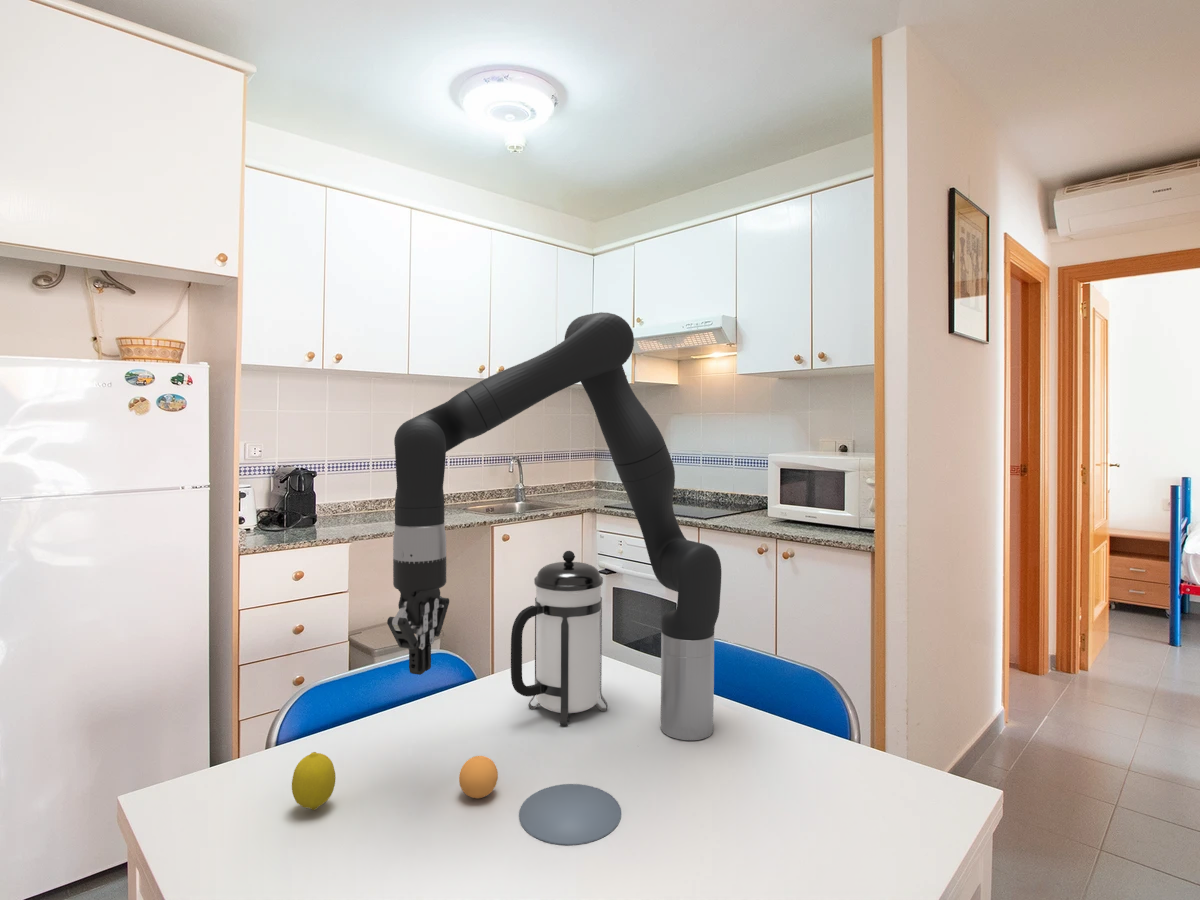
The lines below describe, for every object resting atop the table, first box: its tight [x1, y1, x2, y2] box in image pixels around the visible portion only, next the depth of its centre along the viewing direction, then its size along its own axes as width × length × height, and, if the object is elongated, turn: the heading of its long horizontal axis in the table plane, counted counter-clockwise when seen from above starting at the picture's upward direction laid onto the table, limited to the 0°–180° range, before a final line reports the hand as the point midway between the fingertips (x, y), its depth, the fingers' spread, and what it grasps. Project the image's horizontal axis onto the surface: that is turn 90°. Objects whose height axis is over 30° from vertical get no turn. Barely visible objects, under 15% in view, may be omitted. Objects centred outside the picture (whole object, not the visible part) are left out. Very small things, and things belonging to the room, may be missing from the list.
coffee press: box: [510, 550, 609, 727], centre depth 122 cm, size 17×16×30 cm
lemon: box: [291, 751, 336, 811], centre depth 91 cm, size 6×6×8 cm
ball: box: [458, 755, 499, 799], centre depth 95 cm, size 6×6×6 cm
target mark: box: [518, 783, 622, 846], centre depth 91 cm, size 14×14×1 cm
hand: (420, 671), depth 97 cm, fingers closed
